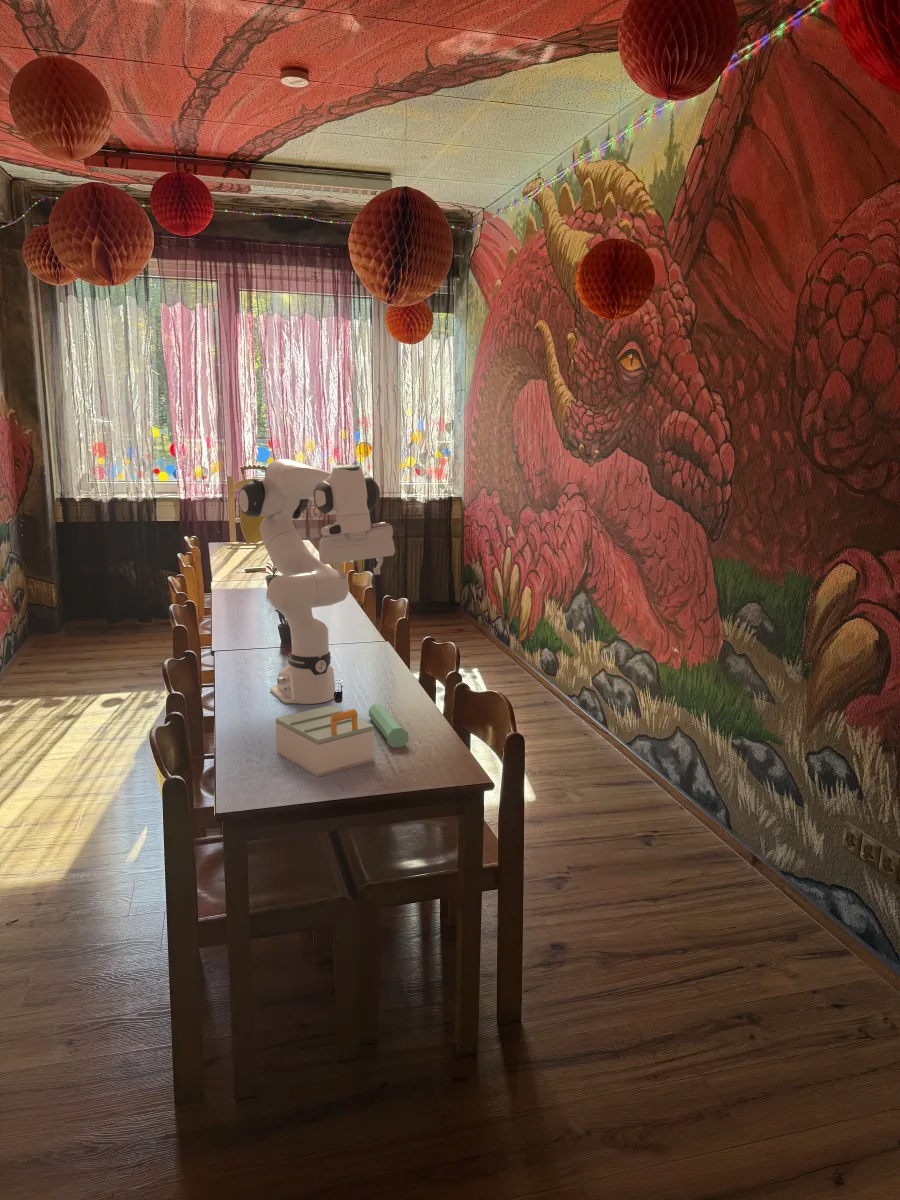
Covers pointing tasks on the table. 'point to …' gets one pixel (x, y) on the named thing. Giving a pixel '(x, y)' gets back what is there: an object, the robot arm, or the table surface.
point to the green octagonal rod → (388, 726)
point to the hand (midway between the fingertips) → (360, 576)
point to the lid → (325, 724)
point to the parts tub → (325, 751)
